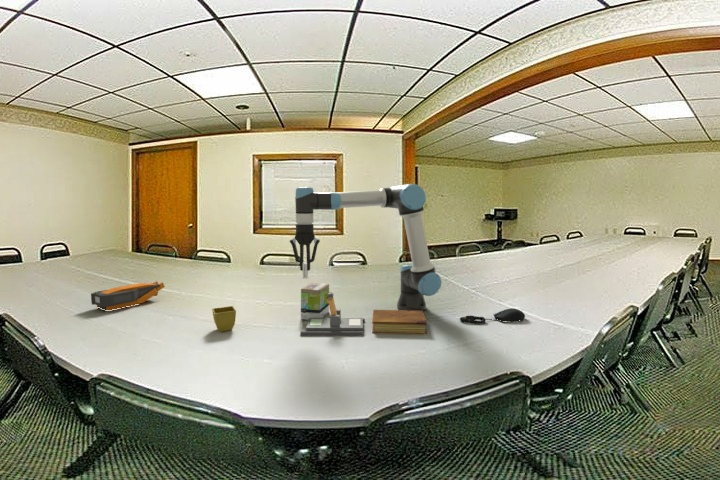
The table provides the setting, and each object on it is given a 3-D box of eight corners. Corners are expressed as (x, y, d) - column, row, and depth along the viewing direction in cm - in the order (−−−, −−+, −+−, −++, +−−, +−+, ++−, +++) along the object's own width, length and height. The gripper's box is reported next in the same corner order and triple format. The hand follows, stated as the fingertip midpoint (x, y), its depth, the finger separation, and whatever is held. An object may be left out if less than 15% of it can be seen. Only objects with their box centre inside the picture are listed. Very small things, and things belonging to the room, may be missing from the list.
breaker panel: (362, 323, 172) (362, 308, 172) (363, 333, 158) (363, 317, 158) (310, 323, 172) (310, 308, 172) (306, 333, 158) (305, 317, 158)
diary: (422, 322, 176) (422, 310, 175) (426, 336, 157) (427, 322, 157) (373, 320, 177) (373, 308, 177) (372, 334, 159) (372, 321, 158)
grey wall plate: (364, 321, 175) (364, 318, 175) (365, 335, 156) (365, 332, 156) (306, 321, 175) (306, 318, 175) (300, 335, 156) (300, 332, 156)
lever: (339, 319, 168) (332, 291, 167) (338, 323, 162) (331, 294, 161) (333, 320, 168) (327, 292, 167) (332, 324, 162) (326, 295, 161)
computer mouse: (529, 321, 176) (529, 310, 176) (466, 326, 169) (466, 314, 168) (516, 315, 185) (516, 305, 185) (456, 320, 178) (456, 309, 177)
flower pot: (215, 334, 157) (214, 313, 156) (212, 328, 165) (211, 308, 164) (236, 331, 161) (236, 310, 160) (233, 325, 169) (232, 305, 168)
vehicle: (169, 299, 215) (168, 282, 214) (102, 314, 186) (101, 294, 185) (155, 296, 222) (154, 279, 221) (89, 309, 193) (88, 290, 193)
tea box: (320, 320, 176) (320, 289, 174) (300, 319, 178) (299, 288, 176) (329, 311, 190) (329, 283, 189) (310, 310, 192) (310, 282, 191)
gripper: (321, 223, 165) (321, 276, 167) (290, 223, 165) (291, 276, 167) (319, 224, 157) (319, 279, 159) (287, 224, 157) (288, 279, 159)
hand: (305, 277), depth 163 cm, fingers closed
